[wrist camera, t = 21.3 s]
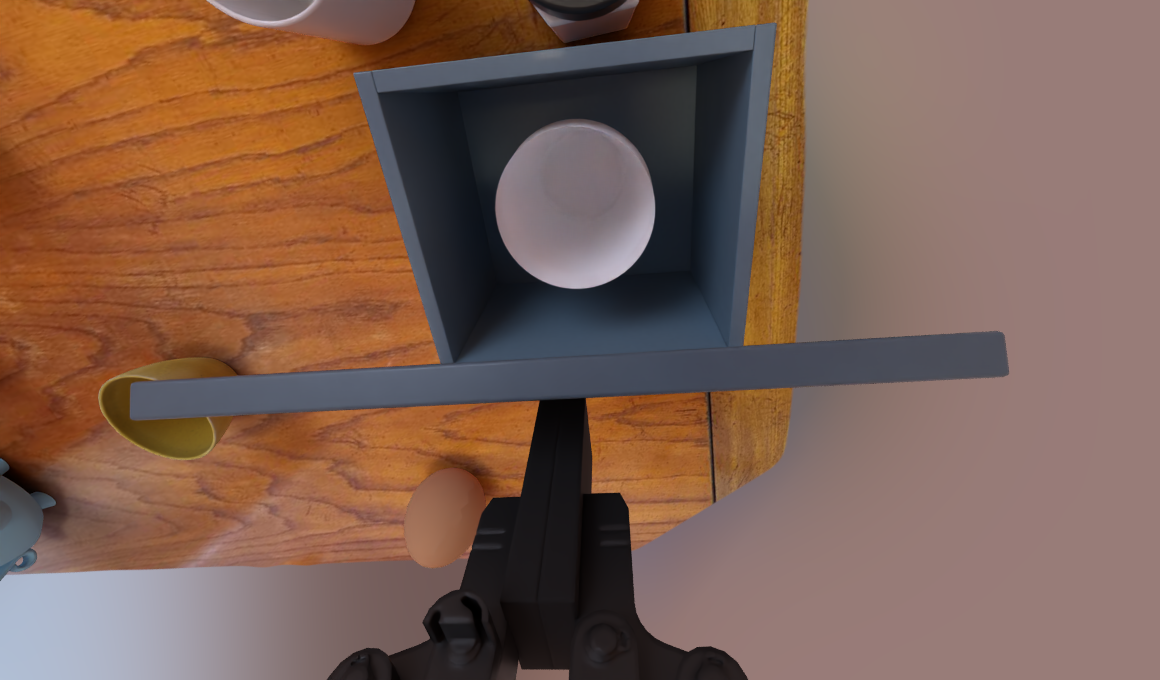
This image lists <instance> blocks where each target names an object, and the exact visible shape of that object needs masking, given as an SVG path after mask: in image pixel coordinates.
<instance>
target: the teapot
mask: <svg viewBox="0 0 1160 680" xmlns="http://www.w3.org/2000/svg"><path fill="white" fill-rule="evenodd" d="M8 470H9V465H8V464H7V463H6V462H5V461H4V460H2V459H1V458H0V581H1V579H2V578H3V577H4V576H5V575H6V574H7V572H8V571H11V572H20V571H23V570H25V569H27V568H29V567H30V566H32V565H33V564H34V563H35V561H36V559H37V554H36V552H35V551H34V550H33V549H31V547H32V546H33V545H34V544H35V543H36V542H37V540H38V539H39V537H40V534H41V530H42V525H43V518H44V517H43V512H42V509H45V508H48V507H51V506H54V505H56V502H55V500H54V499H53V498H52V497H51V496H49V495H47V494H45V493H42V492H34V493H31V494H29V493H27V492H26V491H25V490H24V489H23V488H21V487H20V486H18V485H17V484H15V483H14V482H12V481H11V480H9V479H7V478H5V477H4V476H2V475H3V474H4V473H5V472H7V471H8ZM21 557H23V562H22V564H21V565H19V566H17V565H16V564H15V563H16V562H17V561H18V560H19V559H20V558H21Z"/></svg>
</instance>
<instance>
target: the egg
mask: <svg viewBox="0 0 1160 680" xmlns="http://www.w3.org/2000/svg"><path fill="white" fill-rule="evenodd" d="M485 508H486V500H485V495H484V491H483V488H482V486H481V485H480V483H479V481H478V480H477V478H476V477H475V476H473V475H472V474H471V473H470V472H468V471H466V470H464V469H459V468H447V469H442V470H439V471H437V472H435V473H433V474H431V475H430V476H429V477H427V478H426V479H425V480H424V481H422V482H421V484H420V485H419V486H418V487H417V488H416V490H415V492H414V493H413V495H412V497H411V499H410V502H409V504H408V506H407V510H406V514H405V518H404V537H405V541H406V546H407V549H408V552H409V554H410V555H411V557H412V558H413V559H414V560H415V561H416V562H417V563H418V564H420V565H422V566H423V567H427V568H439V567H444V566H446V565H448V564H450V563H452V562H454V561H455V560H456V559H457V558H459V557H460V556H461V555H462V554H463V553H465V551H466V550H467V549H468V548H469V546H470V545H471V544H472V543H473V541H474V538H475V535H476V531H477V527H478V524H479V520H480V517H481V514H482V512H483V511H484V509H485Z"/></svg>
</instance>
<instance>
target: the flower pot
mask: <svg viewBox="0 0 1160 680" xmlns="http://www.w3.org/2000/svg"><path fill="white" fill-rule="evenodd" d="M223 376H237V374H236V373H235V372H234V370H233V369H232V368H230V367H229V366H228V365H226V364H225V363H223V362H221V361H219V360H216V359H213V358H205V357H195V358H181V359H174V360H168V361H163V362H158V363H154V364H150V365H147V366H143V367H140V368H137V369H134V370H131V371H128V372H126V373H123V374H121V375H119V376H116V377H114V378H112V379H110V380H108V381H107V382H106V383H105V384H104V385H102V387H101V389H100V391H99V397H98V398H99V406H100V409H101V411H102V413H103V415H104V417H105V418H106V420H107V421H108V422H109V423H110V425H111V426H112V427H113V428H114V429H115V430H116V431H117V432H118V433H119V434H121V436H123V437H124V438H126V439H127V440H128V441H130V442H131V443H133V444H135V445H136V446H138V447H140V448H142V449H144V450H146V451H148V452H150V453H153V454H156V455H159V456H162V457H165V458H169V459H175V460H193V459H198V458H201V457H203V456H205V455H207V454H208V453H210V452H211V450H212V449H213V448H214V447H215V446H216V444H217V443H218V442H219V441H220V439H221V438H222V436H223V435H224V433H225V432H226V430H227V428H228V426H229V425H230V423H231V421H232V419H233V416H217V417H197V418H177V419H157V420H138V421H135V420H132V419H131V418H130V386H131V384H132V383H134V382H137V381H154V380H171V379H188V378H205V377H223Z"/></svg>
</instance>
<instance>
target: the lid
mask: <svg viewBox="0 0 1160 680" xmlns="http://www.w3.org/2000/svg"><path fill="white" fill-rule="evenodd" d="M1008 374H1009V367H1008V359H1007V351H1006V343H1005V336H1004V334H1003V333H1002V332H998V331H990V332H973V333H956V334H940V335H923V336H905V337H888V338H871V339H855V340H838V341H837V340H836V341H820V342H803V343H785V344H768V345H751V346H734V347H717V348H700V349H683V350H666V351H649V352H632V353H615V354H598V355H581V356H564V357H547V358H529V359H512V360H495V361H478V362H461V363H444V364H427V365H410V366H393V367H376V368H359V369H342V370H325V371H308V372H291V373H274V374H257V375H240V376H223V377H205V378H188V379H171V380H154V381H137V382H134V383H132V384H131V386H130V418H131V419H132V420H135V421H138V420H157V419H177V418H197V417H217V416H237V415H257V414H277V413H297V412H317V411H337V410H356V409H376V408H396V407H416V406H436V405H456V404H476V403H496V402H516V401H536V400H556V399H575V398H595V397H615V396H635V395H655V394H675V393H695V392H715V391H735V390H755V389H775V388H794V387H813V386H834V385H854V384H874V383H894V382H913V381H933V380H953V379H973V378H994V377H1004V376H1006V375H1008Z"/></svg>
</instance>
